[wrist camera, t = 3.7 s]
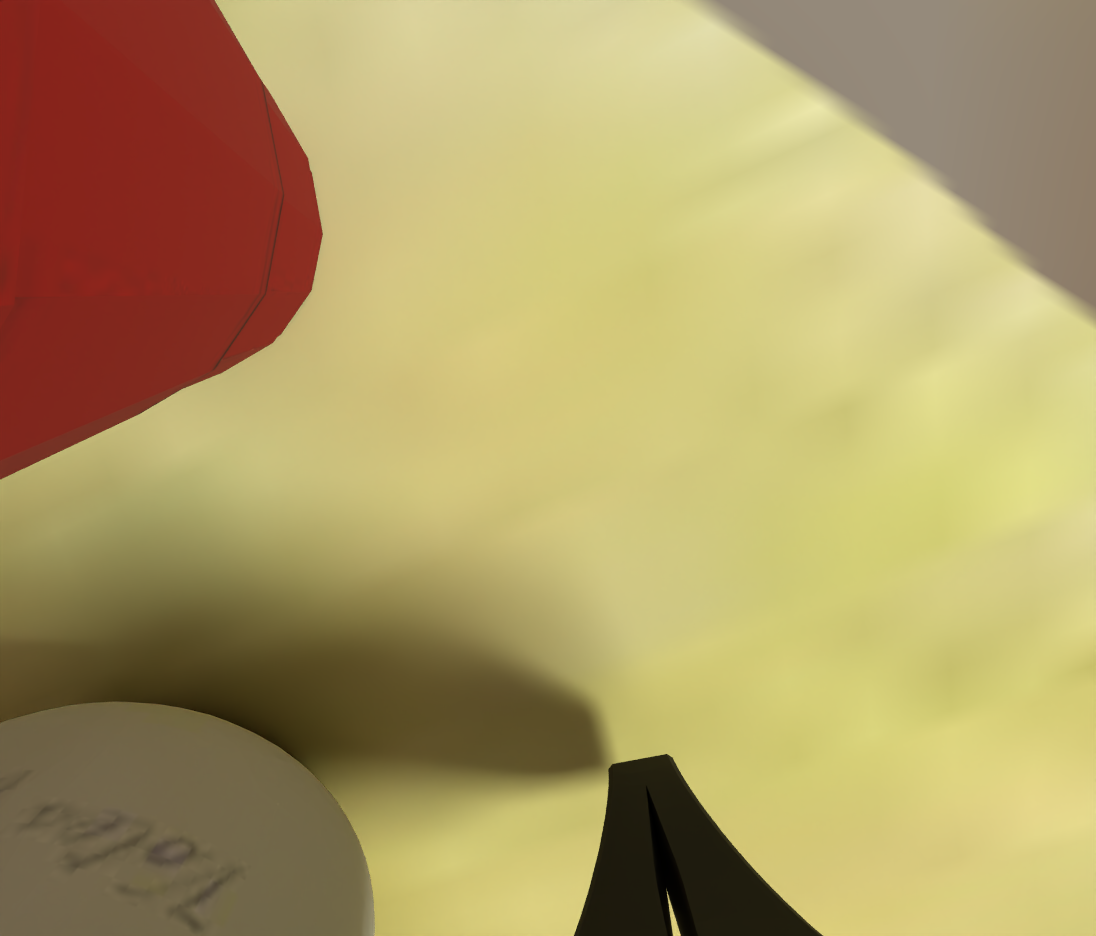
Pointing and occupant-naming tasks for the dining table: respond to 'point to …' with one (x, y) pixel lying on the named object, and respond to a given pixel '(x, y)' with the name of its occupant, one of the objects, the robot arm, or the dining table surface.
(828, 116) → the dining table surface
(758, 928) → the robot arm
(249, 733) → the teacup
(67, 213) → the plastic cup
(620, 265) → the dining table surface
